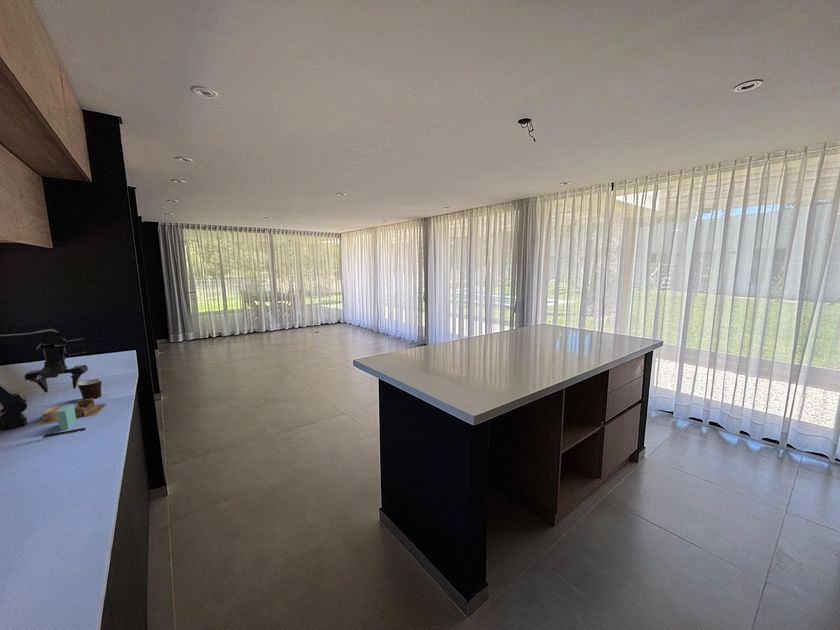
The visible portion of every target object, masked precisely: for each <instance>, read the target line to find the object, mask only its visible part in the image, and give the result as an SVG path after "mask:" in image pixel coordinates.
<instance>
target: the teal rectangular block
mask: <svg viewBox="0 0 840 630" xmlns="http://www.w3.org/2000/svg"><path fill="white" fill-rule="evenodd" d="M63 406H64V407H62V408H61V409H60V410H59V411H58V412H57V416H58V421H57V422H58V426H59V430H60V431H63V432H66V431H67V430H69V429H70V428H71V427H72V426H73V425H74V424H75V423H76V422H77V420H78V419H77V418H76V415H75V409H74V408H75V405H74V403H69V404H65V405H63Z"/></svg>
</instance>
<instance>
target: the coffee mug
mask: <svg viewBox="0 0 840 630" xmlns="http://www.w3.org/2000/svg"><path fill="white" fill-rule="evenodd" d="M77 385H78V389H79V392H80V395H81V397H82V400H84V399H91V398H93V399H94V400H95V399H99V398H101V397H102V378H91V379H86V380H83V381H80V382H78V383H77Z"/></svg>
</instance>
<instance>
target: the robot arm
mask: <svg viewBox="0 0 840 630" xmlns="http://www.w3.org/2000/svg"><path fill="white" fill-rule="evenodd" d="M27 343H31V344H39V345H38V346H37V347H36V350H37V351H41V350H43V357H44V360H45V361H44V366H43V367H42V368H41V369H38V370H37V369H36V370H31V371H28V372H27V373H25V374H24V381H29V382H33V383H36V384H37V385H38V386H39V387H40V388H41V389H42V390H43V392H44V393H48V391H49V390H48V389H49V388H48V382H47V379H50V378H51V379H54V378H57V377H59V375H62V374H63V375H65V374H71V376H70V377H71V380H72V388H73V390H75V389H76V388H77V385H78V383H79V379H80V377H81V376H82V375H83V374H85V373H87V371H89V368H88V366H87V365H86V364H82V365H81V364H79V365H75V366H73V367H72V368H68V365H66V361H65V360H66V359H67V358H66V356H64V354H68V356H71V355H78V354H83V353H84V354H85V353H88V350H87V349H88V348H87V345H86V343H85V339H84V338H77V339H70V340H67V339H66V338H64V337H62V336H61V334H60V332H59V331H58V330H56V329H54V328H53V329H52V328H48V329H42V330H37V331H33V332H27V333H25V332H23V333H11V334H10V333H9V334H0V345H1V346H2V345H13V344H16V345H17V344H27ZM63 349H64V350H63ZM27 401H28V400H27V396H24V395H23V394H21V392H20V391H19V390H18V391H15V392H12V391H10V390H9V389H8V388H6V387H5V386H4V385H2V384H1V383H0V404H1V407H2V408H1V409H0V431H12V430H16V429H18V428H19V429H20V428H23V427H25V426H27V424H28V419H27V416H25V414H24V413H23V412H24V411H26V410H27V408H28V403H27Z"/></svg>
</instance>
